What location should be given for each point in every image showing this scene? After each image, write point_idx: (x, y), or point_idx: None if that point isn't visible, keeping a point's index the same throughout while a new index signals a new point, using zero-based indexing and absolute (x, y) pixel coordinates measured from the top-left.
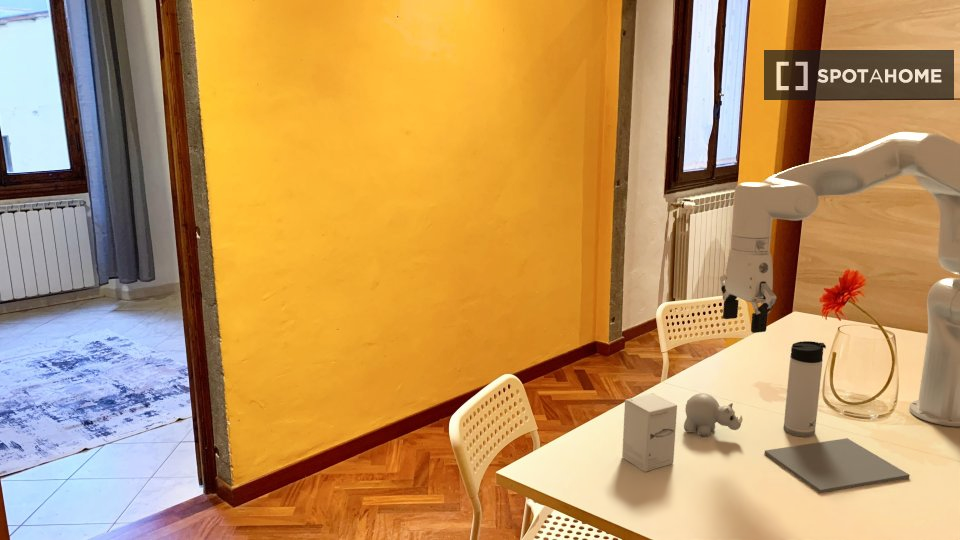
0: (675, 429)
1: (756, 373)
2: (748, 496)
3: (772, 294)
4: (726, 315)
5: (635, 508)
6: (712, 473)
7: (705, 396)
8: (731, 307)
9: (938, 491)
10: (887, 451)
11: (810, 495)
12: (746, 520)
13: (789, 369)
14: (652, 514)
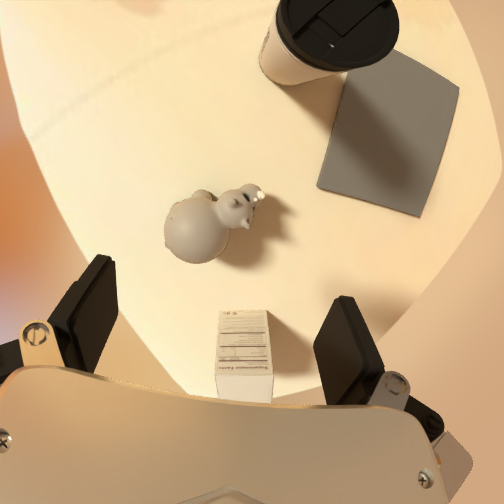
0: (270, 345)
1: None
2: (368, 286)
3: (457, 481)
4: (113, 322)
5: (310, 372)
6: (311, 286)
7: (199, 247)
8: (96, 332)
9: (480, 95)
10: (404, 24)
11: (411, 226)
12: (387, 314)
13: (287, 63)
14: None
